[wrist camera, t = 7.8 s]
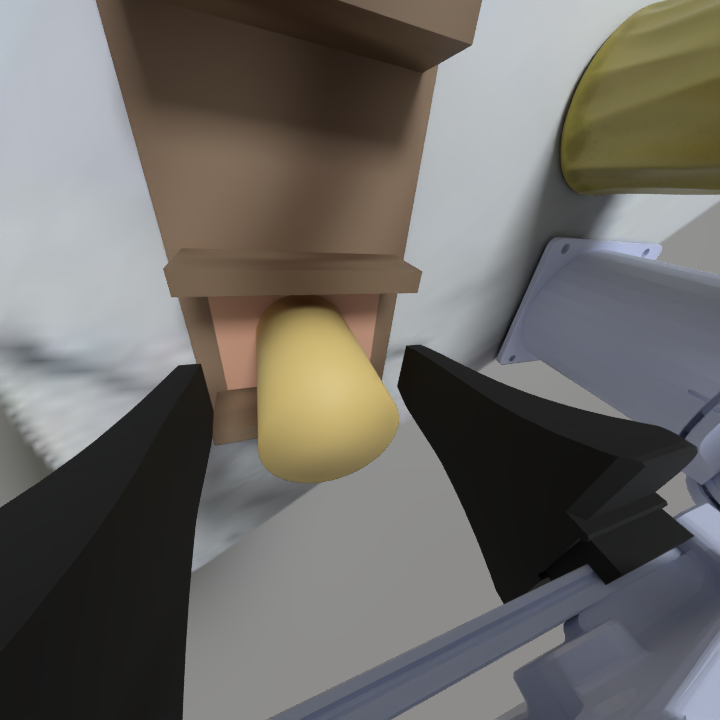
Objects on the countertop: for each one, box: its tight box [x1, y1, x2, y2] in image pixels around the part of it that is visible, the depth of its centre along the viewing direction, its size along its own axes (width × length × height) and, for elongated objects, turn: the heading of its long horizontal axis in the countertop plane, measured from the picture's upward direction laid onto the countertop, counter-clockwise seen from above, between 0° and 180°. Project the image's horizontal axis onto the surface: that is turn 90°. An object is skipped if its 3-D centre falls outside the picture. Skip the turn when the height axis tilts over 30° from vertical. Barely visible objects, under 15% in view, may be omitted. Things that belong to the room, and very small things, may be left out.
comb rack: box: [96, 0, 482, 445], centre depth 10 cm, size 9×15×3 cm, turn 174°
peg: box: [256, 295, 399, 483], centre depth 10 cm, size 4×4×6 cm
